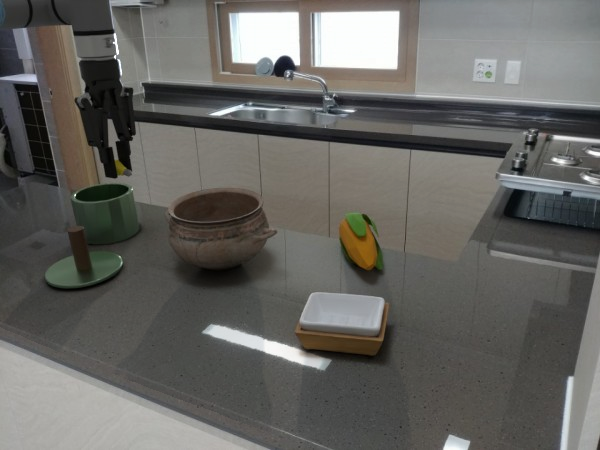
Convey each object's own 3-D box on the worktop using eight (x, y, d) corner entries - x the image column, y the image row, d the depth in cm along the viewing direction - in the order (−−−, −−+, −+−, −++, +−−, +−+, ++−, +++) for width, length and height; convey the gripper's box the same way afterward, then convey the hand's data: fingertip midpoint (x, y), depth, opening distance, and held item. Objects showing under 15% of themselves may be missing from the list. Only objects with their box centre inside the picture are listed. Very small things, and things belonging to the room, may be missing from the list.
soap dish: (388, 323, 83) (389, 295, 81) (382, 363, 74) (383, 332, 72) (309, 315, 85) (308, 288, 83) (295, 353, 77) (293, 323, 75)
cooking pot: (302, 253, 106) (300, 195, 101) (250, 299, 91) (244, 234, 86) (201, 233, 117) (194, 180, 112) (139, 271, 102) (129, 211, 97)
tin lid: (29, 282, 100) (17, 237, 96) (88, 251, 111) (78, 210, 107) (82, 297, 94) (71, 250, 90) (138, 263, 105) (130, 220, 101)
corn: (369, 201, 109) (392, 242, 91) (371, 234, 112) (394, 281, 94) (333, 205, 109) (349, 248, 91) (336, 239, 112) (352, 287, 94)
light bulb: (109, 172, 115) (113, 156, 114) (133, 182, 113) (137, 166, 113) (99, 172, 111) (104, 156, 111) (124, 182, 110) (129, 166, 109)
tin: (67, 238, 117) (57, 198, 113) (110, 218, 127) (102, 180, 123) (109, 248, 112) (100, 206, 108) (151, 226, 122) (144, 186, 118)
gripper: (78, 64, 95) (102, 189, 104) (143, 53, 108) (159, 165, 117) (49, 62, 98) (74, 184, 107) (116, 52, 111) (133, 161, 121)
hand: (119, 174), depth 112 cm, fingers closed on light bulb, 3 cm apart
